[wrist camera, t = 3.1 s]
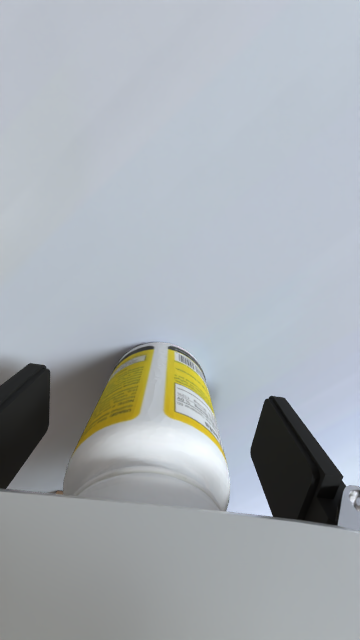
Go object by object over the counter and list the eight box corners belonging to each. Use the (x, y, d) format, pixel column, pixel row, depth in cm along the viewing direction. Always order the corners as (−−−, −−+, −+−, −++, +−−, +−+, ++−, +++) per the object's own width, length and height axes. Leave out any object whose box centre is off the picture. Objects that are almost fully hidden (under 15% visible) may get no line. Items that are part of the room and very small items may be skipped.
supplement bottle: (111, 417, 13) (14, 673, 5) (115, 335, 12) (-7, 506, 4) (199, 424, 14) (235, 680, 6) (211, 344, 12) (282, 524, 4)
